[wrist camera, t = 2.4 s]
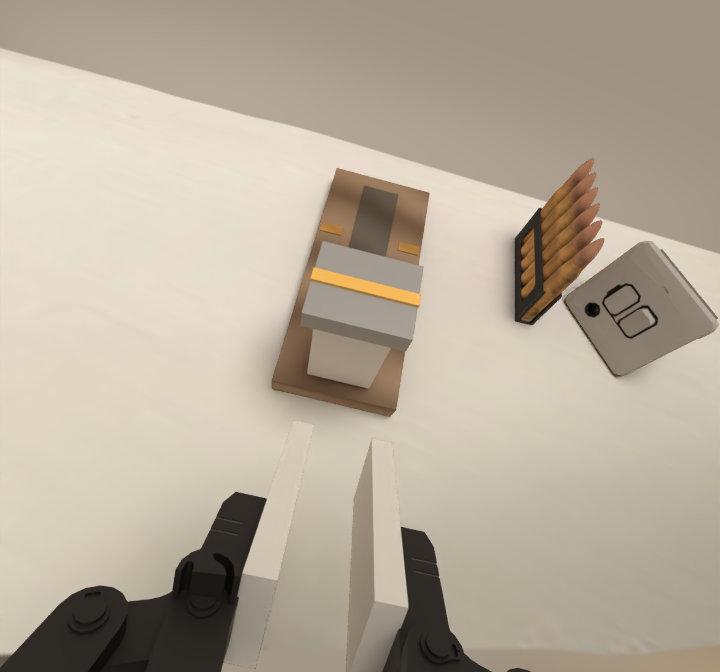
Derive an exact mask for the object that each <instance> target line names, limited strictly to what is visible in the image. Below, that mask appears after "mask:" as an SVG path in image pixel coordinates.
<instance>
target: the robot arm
mask: <svg viewBox="0 0 720 672" xmlns="http://www.w3.org/2000/svg"><path fill="white" fill-rule="evenodd" d="M313 428H314V425H313V424H308V423H304V422H300V421H295V420H293V423H292V426H291V429H290V432H289V435H288V438H287V441H286V444H285V447H284V450H283V453H282V456H281V459H280V462H279V465H278V468H277V471H276V474H275V477H274V480H273V483H272V486H271V489H270V492H269V495H268V498H267V499H266V498H262V497H257V496H252V495H248V494H243V493H239V492H235V493H234V494H233V495H231V496H230V497H229V498H228V499H227V500H225V501H224V502H223V504H222V506H221V508H220V510H219V512H218V514H217V517H216V519H215V521H214V523H213V525H212V527H211V530H210V531H209V533H208V535H207V537H206V540H205V542H204V544H203V546H202V548H201V549H200V550H197V551H194V552H191V553H190V554H189V555H187V556H186V557H185V558H183V559H182V560H181V562H180V563H179V565H178V567H177V568H176V571H175V577H174V584H173V590H172V592H170V593H169V594H166V595H164V596H161V597H159V598H154V599H149V600H139V601H130V602H127V600H126V598H125V597H124V595H123V593H122V592H120V591H118V590H117V589H115V588H113V587H107V586H95V587H89V588H85V589H83V590H81V591H78V592H76V593H74V594H72V595H70V596H69V597H68V598H67V599H66V600H64V601H63V602H62V603H61V604H59V605H58V606H57V607H56V609H55V610H54V611H53V612H52V613H51V614H50V615H49V616H48V617H47V618H46V619H45V620H44V621H43V623H42V624H41V625H40V626H39V627H38V628H37V629H36V630H35V631H34V632H33V633H32V634H31V635H30V636H29V638H28V639H27V640H26V641H25V642H24V643H23V644H22V645H21V646H20V647H19V648H18V649H17V650H16V651H15V653H14V654H13V655H12V656H11V657H10V658H9V659H8V660H7V661H6V662H5V663H4V664H3V665H2V666H1V668H0V672H221V668H222V665H223V663H228V664H233V665H239V666H244V667H249V668H254V669H255V668H256V665H257V661H258V657H259V653H260V649H261V645H262V641H263V637H264V633H265V629H266V625H267V621H268V616H269V612H270V608H271V604H272V600H273V596H274V592H275V588H276V584H277V580H278V576H279V572H280V568H281V563H282V559H283V555H284V551H285V546H286V542H287V538H288V534H289V529H290V525H291V521H292V517H293V513H294V508H295V504H296V500H297V496H298V491H299V487H300V483H301V479H302V474H303V470H304V466H305V462H306V457H307V453H308V449H309V445H310V441H311V436H312V432H313ZM436 563H437V562H436V556H435V551H434V547H433V545H432V543H431V542H430V540H429V538H428V537H427V535H426V534H425V532H422V531H417V530H413V529H408V528H404V527H400V517H399V507H398V497H397V487H396V477H395V467H394V456H393V446H392V443H390V442H386V441H382V440H377V439H373V438H372V440H371V443H370V446H369V450H368V453H367V456H366V460H365V463H364V466H363V470H362V473H361V477H360V480H359V483H358V487H357V490H356V493H355V497H354V505H353V526H352V548H351V569H350V591H349V612H348V634H347V655H346V656H347V657H346V672H491V671H489V670H487V669H486V668H484V667H482V666H480V665H478V664H477V663H475V662H474V661H472V660H471V659H470V658H469V657H468V656H466V655H465V654H464V652H463V649H462V646H461V644H460V643H459V641H458V640H457V638H456V637H455V635H454V634H453V633H451V632H450V629H449V625H448V620H447V615H446V609H445V604H444V599H443V593H442V588H441V583H440V578H439V572H438V567H437V565H436ZM507 672H530V671H528V670H523V669H520V668H515V669H510V670H508V671H507Z"/></svg>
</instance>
